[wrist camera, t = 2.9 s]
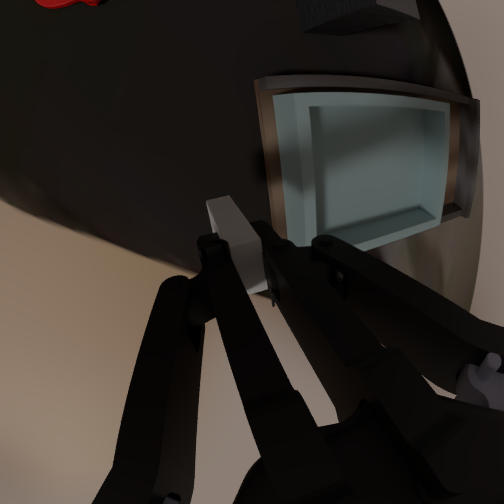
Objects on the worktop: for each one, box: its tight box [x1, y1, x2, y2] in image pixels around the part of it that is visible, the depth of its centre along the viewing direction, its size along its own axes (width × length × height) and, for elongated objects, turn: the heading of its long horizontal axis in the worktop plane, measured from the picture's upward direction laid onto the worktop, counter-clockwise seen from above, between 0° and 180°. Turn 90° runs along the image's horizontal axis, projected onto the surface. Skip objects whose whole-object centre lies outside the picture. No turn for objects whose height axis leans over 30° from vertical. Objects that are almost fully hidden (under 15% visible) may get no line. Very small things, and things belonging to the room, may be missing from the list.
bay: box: [254, 75, 480, 240], centre depth 24 cm, size 17×29×4 cm, turn 99°
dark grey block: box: [296, 0, 420, 36], centre depth 12 cm, size 4×4×10 cm
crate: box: [273, 92, 450, 251], centre depth 22 cm, size 14×18×4 cm
